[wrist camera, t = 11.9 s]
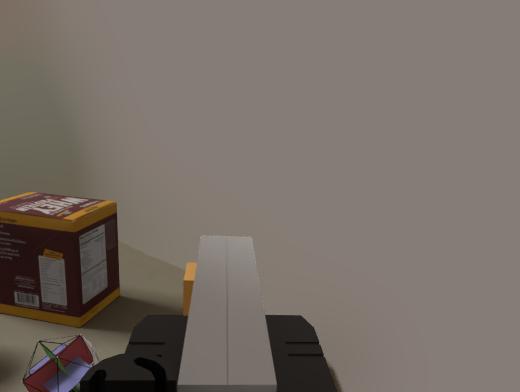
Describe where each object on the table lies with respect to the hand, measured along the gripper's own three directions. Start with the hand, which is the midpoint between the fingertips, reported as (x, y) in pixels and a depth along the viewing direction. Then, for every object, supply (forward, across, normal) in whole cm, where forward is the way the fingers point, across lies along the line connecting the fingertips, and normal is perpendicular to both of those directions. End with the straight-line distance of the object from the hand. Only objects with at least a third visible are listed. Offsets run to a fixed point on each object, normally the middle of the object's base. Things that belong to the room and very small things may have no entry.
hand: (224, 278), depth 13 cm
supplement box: (+49, -24, -28) cm, 62 cm away
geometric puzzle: (+29, -16, -28) cm, 43 cm away
